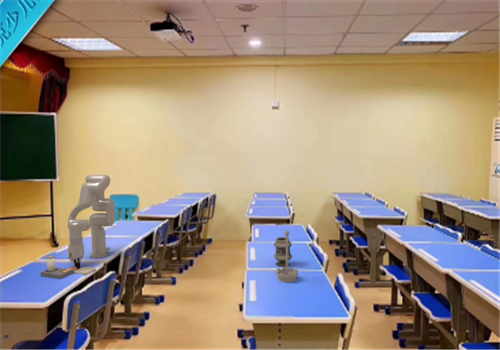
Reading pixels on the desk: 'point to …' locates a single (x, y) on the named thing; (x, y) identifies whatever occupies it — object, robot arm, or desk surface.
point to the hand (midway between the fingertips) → (77, 268)
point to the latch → (70, 269)
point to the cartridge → (51, 263)
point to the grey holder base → (57, 273)
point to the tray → (85, 270)
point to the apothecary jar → (282, 251)
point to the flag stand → (286, 273)
